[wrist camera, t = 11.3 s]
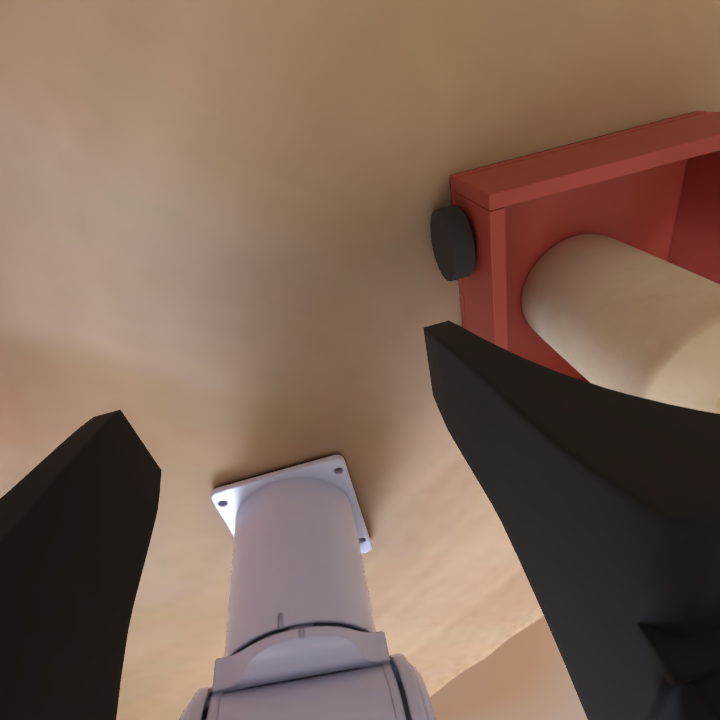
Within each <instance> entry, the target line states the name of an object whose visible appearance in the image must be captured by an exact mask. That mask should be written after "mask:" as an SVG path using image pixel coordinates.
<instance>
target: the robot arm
mask: <svg viewBox="0 0 720 720" xmlns="http://www.w3.org/2000/svg"><path fill="white" fill-rule="evenodd" d="M424 335H425V342H426V349H427V356H428V363H429V370H430V377H431V384H432V391H433V396H434V398H435V401H436V403H437V406H438V408H439V410H440V413H441V415H442V417H443V420H444V422H445V424H446V426H447V429H448V431H449V432H450V434H451V436H452V437H453V439H454V441H455V443H456V444H457V446H458V448H459V449H460V451H461V453H462V455H463V456H464V458H465V460H466V461H467V463H468V465H469V466H470V468H471V470H472V471H473V473H474V475H475V476H476V478H477V480H478V481H479V483H480V485H481V486H482V488H483V490H484V491H485V493H486V495H487V497H488V498H489V500H490V502H491V503H492V505H493V507H494V509H495V511H496V512H497V514H498V516H499V518H500V520H501V522H502V524H503V526H504V528H505V530H506V532H507V535H508V537H509V539H510V541H511V543H512V545H513V547H514V550H515V552H516V554H517V556H518V558H519V560H520V562H521V565H522V567H523V569H524V571H525V574H526V576H527V578H528V580H529V583H530V585H531V587H532V589H533V591H534V594H535V596H536V598H537V600H538V603H539V605H540V607H541V609H542V612H543V614H544V616H545V619H546V621H547V623H548V626H549V628H550V630H551V632H552V635H553V637H554V639H555V642H556V644H557V646H558V649H559V651H560V653H561V656H562V658H563V660H564V662H565V665H566V668H567V670H568V672H569V675H570V677H571V680H572V682H573V685H574V687H575V689H576V692H577V694H578V697H579V699H580V701H581V704H582V706H583V709H584V711H585V714H586V716H587V718H588V720H720V414H717V413H711V412H706V411H700V410H695V409H690V408H685V407H680V406H675V405H670V404H666V403H662V402H658V401H654V400H650V399H645V398H641V397H637V396H633V395H629V394H625V393H622V392H618V391H614V390H611V389H607V388H604V387H601V386H598V385H595V384H592V383H589V382H585V381H582V380H579V379H576V378H573V377H570V376H567V375H565V374H562V373H559V372H557V371H554V370H552V369H549V368H547V367H544V366H542V365H539V364H537V363H534V362H532V361H530V360H527V359H525V358H523V357H521V356H518V355H516V354H514V353H512V352H510V351H508V350H505V349H503V348H501V347H499V346H497V345H495V344H493V343H491V342H489V341H487V340H485V339H483V338H481V337H479V336H478V335H476V334H474V333H472V332H470V331H468V330H466V329H464V328H462V327H460V326H458V325H456V324H454V323H452V322H450V321H446V322H442V323H439V324H435V325H431V326H428V327H424ZM336 468H340V469H336ZM160 481H161V469H160V468H159V466H158V465H157V463H156V462H155V460H154V459H153V457H152V456H151V454H150V453H149V451H148V450H147V449H146V447H145V446H144V444H143V443H142V441H141V440H140V438H139V437H138V435H137V434H136V432H135V431H134V429H133V428H132V426H131V425H130V423H129V422H128V420H127V419H126V417H125V416H124V414H123V413H122V411H121V410H118V411H114V412H110V413H107V414H103V415H99V416H96V417H93V418H92V419H91V420H89V421H88V422H87V423H85V424H84V425H83V426H81V427H80V428H79V429H78V430H77V431H75V432H74V433H73V434H72V435H71V436H70V437H68V438H67V439H66V440H65V441H64V442H63V443H62V444H61V445H59V446H58V447H57V448H56V449H55V450H54V451H53V452H52V453H51V454H50V455H48V456H47V457H46V458H45V459H44V460H43V461H42V462H41V463H40V464H39V465H37V466H36V467H35V468H34V469H33V470H32V471H31V472H30V473H29V474H28V475H26V476H25V477H24V478H23V479H22V480H21V481H20V482H19V483H18V484H17V485H16V486H14V487H13V488H12V489H11V490H10V491H9V492H8V493H6V494H5V495H4V496H3V497H2V498H1V499H0V720H116V715H117V706H118V698H119V689H120V681H121V674H122V667H123V660H124V654H125V647H126V640H127V634H128V628H129V623H130V619H131V614H132V609H133V605H134V601H135V597H136V593H137V589H138V586H139V582H140V578H141V574H142V570H143V566H144V562H145V559H146V555H147V551H148V547H149V543H150V539H151V535H152V531H153V527H154V523H155V519H156V514H157V510H158V502H159V493H160ZM211 500H212V502H213V503H214V505H215V507H216V508H217V510H218V512H219V513H220V515H221V516H222V518H223V520H224V521H225V523H226V525H227V526H228V528H229V530H230V531H231V533H232V534H233V536H234V546H233V558H232V570H231V582H230V594H229V606H228V619H227V631H226V643H225V655H224V657H223V658H218V659H216V660H215V668H214V678H213V687H207V688H201V689H199V690H198V691H197V692H196V693H195V694H194V696H193V698H192V700H191V702H190V703H189V704H188V706H187V707H186V708H185V710H184V711H183V713H182V714H181V716H180V719H179V720H435V716H434V712H433V708H432V705H431V701H430V698H429V695H428V692H427V689H426V686H425V684H424V681H423V679H422V677H421V675H420V673H419V672H418V670H417V669H416V668H415V667H414V666H413V665H412V664H411V663H409V661H408V660H407V659H406V657H405V656H404V655H402V654H395V655H390V656H389V653H388V648H387V643H386V638H385V633H384V632H382V631H381V632H376V629H375V624H374V619H373V614H372V609H371V603H370V598H369V593H368V588H367V583H366V578H365V572H364V567H363V562H362V557H361V554H362V553H366V552H368V551H370V550H371V548H372V544H371V541H370V538H369V534H368V531H367V528H366V525H365V522H364V519H363V516H362V513H361V510H360V507H359V504H358V500H357V497H356V494H355V491H354V488H353V485H352V482H351V479H350V476H349V473H348V470H347V467H346V463H345V460H344V458H343V457H342V456H341V455H332V456H329V457H325V458H322V459H318V460H314V461H311V462H307V463H304V464H300V465H297V466H293V467H289V468H286V469H282V470H279V471H275V472H271V473H268V474H264V475H261V476H257V477H254V478H250V479H246V480H243V481H239V482H236V483H232V484H229V485H225V486H221V487H218V488H215V489H213V490H212V492H211ZM222 500H224V501H222Z"/></svg>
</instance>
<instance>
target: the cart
mask: <svg viewBox="0 0 720 720" xmlns="http://www.w3.org/2000/svg"><path fill="white" fill-rule="evenodd" d="M450 183H451V195H452V206H454V205H456V206H459V207H460V208H461V209H462V210H463V212H464V213H465V215H466V217H467V219H468V221H469V224H470V227H471V230H472V234H473V239H474V245H475V267H474V271H473V273H472V274H471V275H470V276H468V277H464V278H461V279H459V289H460V301H461V313H462V325H463V328H464V329H466V330H468V331H470V332H472V333H474V334H476V335H478V336H479V337H481V338H483V339H485V340H487V341H489V342H491V343H493V344H495V345H497V346H499V347H501V348H503V349H505V350H508V351H510V352H512V353H514V354H516V355H518V356H521V357H523V358H525V359H527V360H530V361H532V362H534V363H537V364H539V365H542V366H544V367H547V368H549V369H552V370H554V371H557V372H559V373H562V374H565V375H567V376H570V377H573V378H576V379H579V380H582V381H585V382H589V381H588V380H587V379H586V378H585V377H583V376H582V375H581V374H580V373H579V372H578V371H577V370H576V369H575V368H574V367H573V366H571V365H570V364H569V363H568V362H567V361H566V360H565V359H564V358H563V357H562V356H561V355H560V354H558V353H557V352H556V351H555V350H554V349H553V348H552V347H551V346H550V345H549V344H548V343H546V342H545V341H544V340H543V339H542V338H541V337H540V336H539V335H538V334H537V333H536V332H535V331H534V330H533V329H532V328H531V327H530V325H529V324H528V322H527V321H526V319H525V317H524V315H523V311H522V305H521V298H522V291H523V287H524V284H525V281H526V279H527V277H528V275H529V273H530V271H531V270H532V268H533V267H534V265H535V264H536V263H537V261H538V260H539V259H540V258H541V257H542V256H543V255H544V254H545V253H546V252H547V251H548V250H550V249H551V248H552V247H553V246H555V245H556V244H558V243H560V242H561V241H563V240H565V239H567V238H570V237H573V236H576V235H580V234H589V233H590V234H600V235H605V236H608V237H611V238H613V239H616V240H618V241H621V242H623V243H626V244H628V245H630V246H633V247H635V248H637V249H639V250H642V251H644V252H646V253H649V254H651V255H653V256H656V257H658V258H660V259H662V260H665V261H667V262H669V263H672V264H674V265H676V266H679V267H681V268H683V269H685V270H688V271H690V272H692V273H695V274H697V275H699V276H702V277H704V278H706V279H709V280H711V281H713V282H715V283H718V284H720V112H702V111H697V112H693V113H689V114H685V115H681V116H677V117H673V118H670V119H666V120H662V121H658V122H654V123H650V124H646V125H643V126H639V127H635V128H631V129H627V130H623V131H619V132H616V133H612V134H608V135H604V136H600V137H596V138H593V139H589V140H585V141H581V142H577V143H573V144H569V145H566V146H562V147H558V148H554V149H550V150H546V151H542V152H539V153H535V154H531V155H527V156H523V157H519V158H515V159H512V160H508V161H504V162H500V163H496V164H492V165H489V166H485V167H481V168H477V169H473V170H469V171H465V172H462V173H458V174H454V175H451V176H450ZM589 383H590V382H589Z"/></svg>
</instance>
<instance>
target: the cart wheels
mask: <svg viewBox="0 0 720 720" xmlns="http://www.w3.org/2000/svg"><path fill="white" fill-rule="evenodd" d="M431 240H432V246H433V251H434V255H435V258H436V261H437V264H438V267H439V269H440V271H441V273H442V275H443V276H444V278H445V279H446V280H448V281H453V280H457V279H461V278H464V277H468V276H470V275H471V274H472V273H473V271H474V267H475V245H474V239H473V234H472V230H471V227H470V224H469V221H468V219H467V217H466V215H465V213H464V212H463V210H462V209H461V208H460V207H459V206H456V205H454V206H450V207H446V208H442V209H439V210H435V211H434V212H433V214H432V217H431Z"/></svg>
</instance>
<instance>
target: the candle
mask: <svg viewBox="0 0 720 720" xmlns="http://www.w3.org/2000/svg"><path fill="white" fill-rule="evenodd" d="M521 305H522V311H523V315H524V317H525V319H526V321H527V322H528V324H529V325H530V327H531V328H532V329H533V330H534V331H535V332H536V333H537V334H538V335H539V336H540V337H541V338H542V339H543V340H544V341H545V342H546V343H548V344H549V345H550V346H551V347H552V348H553V349H554V350H555V351H556V352H557V353H558V354H560V355H561V356H562V357H563V358H564V359H565V360H566V361H567V362H568V363H569V364H570V365H571V366H573V367H574V368H575V369H576V370H577V371H578V372H579V373H580V374H581V375H582V376H583V377H585V378H586V379H587V380H588V381H589V382H590V383H592V384H595V385H598V386H601V387H604V388H607V389H611V390H614V391H618V392H622V393H625V394H629V395H633V396H637V397H641V398H645V399H650V400H654V401H658V402H662V403H666V404H670V405H675V406H680V407H685V408H690V409H695V410H700V411H706V412H711V413H717V414H720V284H718V283H715V282H713V281H711V280H709V279H706V278H704V277H702V276H699V275H697V274H695V273H692V272H690V271H688V270H685V269H683V268H681V267H679V266H676V265H674V264H672V263H669V262H667V261H665V260H662V259H660V258H658V257H656V256H653V255H651V254H649V253H646V252H644V251H642V250H639V249H637V248H635V247H633V246H630V245H628V244H626V243H623V242H621V241H618V240H616V239H613V238H611V237H608V236H605V235H600V234H590V233H589V234H580V235H576V236H573V237H570V238H567V239H565V240H563V241H561V242H560V243H558V244H556V245H555V246H553V247H552V248H551V249H550V250H548V251H547V252H546V253H545V254H544V255H543V256H542V257H541V258H540V259H539V260H538V261H537V263H536V264H535V265H534V267H533V268H532V270H531V271H530V273H529V275H528V277H527V279H526V281H525V284H524V287H523V291H522V298H521Z"/></svg>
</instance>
